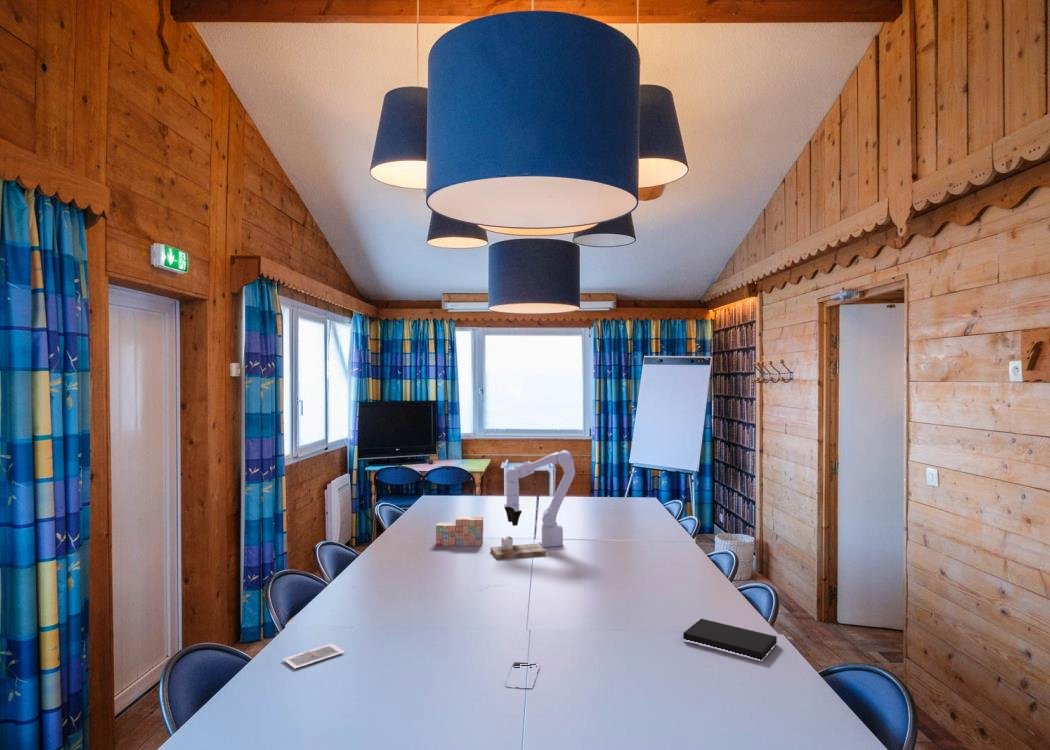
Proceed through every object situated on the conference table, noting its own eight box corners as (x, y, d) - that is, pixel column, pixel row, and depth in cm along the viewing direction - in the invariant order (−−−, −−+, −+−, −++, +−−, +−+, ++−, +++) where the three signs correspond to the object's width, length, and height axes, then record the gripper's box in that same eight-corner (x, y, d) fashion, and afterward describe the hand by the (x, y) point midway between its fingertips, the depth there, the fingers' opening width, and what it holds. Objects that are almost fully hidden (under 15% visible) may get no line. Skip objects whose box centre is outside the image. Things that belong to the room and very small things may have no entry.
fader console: (537, 547, 299) (537, 540, 299) (546, 555, 287) (546, 548, 287) (490, 551, 292) (490, 544, 292) (497, 559, 281) (497, 551, 281)
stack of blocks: (435, 545, 303) (435, 518, 303) (438, 542, 309) (438, 515, 309) (481, 546, 302) (481, 519, 302) (483, 542, 308) (483, 516, 308)
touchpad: (345, 655, 188) (345, 648, 188) (294, 672, 177) (294, 664, 177) (332, 647, 193) (332, 639, 193) (282, 663, 183) (282, 655, 183)
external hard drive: (761, 663, 183) (762, 652, 183) (683, 642, 197) (683, 632, 197) (776, 646, 194) (776, 636, 194) (701, 627, 208) (701, 618, 208)
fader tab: (510, 547, 291) (510, 536, 291) (512, 550, 287) (512, 538, 287) (501, 548, 290) (501, 537, 290) (503, 550, 286) (503, 539, 286)
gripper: (500, 492, 311) (500, 520, 311) (508, 497, 297) (508, 527, 297) (514, 491, 313) (514, 519, 313) (523, 497, 299) (523, 526, 299)
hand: (512, 523), depth 305 cm, fingers open, 7 cm apart
